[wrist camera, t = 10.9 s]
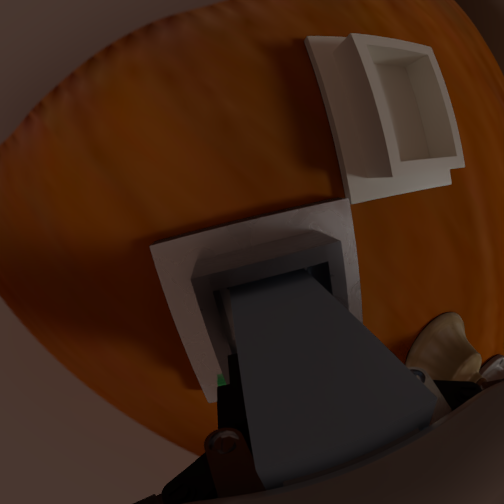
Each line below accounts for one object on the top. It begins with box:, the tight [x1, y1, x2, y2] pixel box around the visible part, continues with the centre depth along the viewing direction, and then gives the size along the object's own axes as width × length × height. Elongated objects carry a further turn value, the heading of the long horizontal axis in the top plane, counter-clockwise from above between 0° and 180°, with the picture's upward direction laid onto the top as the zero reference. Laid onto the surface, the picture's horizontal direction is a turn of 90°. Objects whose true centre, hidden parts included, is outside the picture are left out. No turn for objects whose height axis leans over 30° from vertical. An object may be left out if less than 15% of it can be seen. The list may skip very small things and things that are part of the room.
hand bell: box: [405, 312, 487, 386], centre depth 14 cm, size 8×8×16 cm
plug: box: [229, 268, 438, 490], centre depth 9 cm, size 4×6×12 cm, turn 13°
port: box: [149, 197, 363, 403], centre depth 16 cm, size 12×12×5 cm
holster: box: [304, 33, 465, 204], centre depth 14 cm, size 10×12×4 cm
